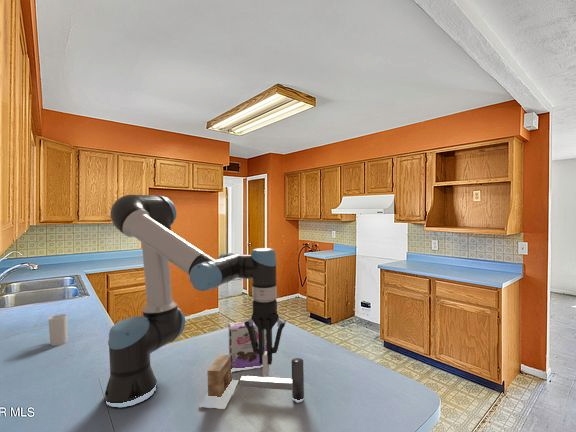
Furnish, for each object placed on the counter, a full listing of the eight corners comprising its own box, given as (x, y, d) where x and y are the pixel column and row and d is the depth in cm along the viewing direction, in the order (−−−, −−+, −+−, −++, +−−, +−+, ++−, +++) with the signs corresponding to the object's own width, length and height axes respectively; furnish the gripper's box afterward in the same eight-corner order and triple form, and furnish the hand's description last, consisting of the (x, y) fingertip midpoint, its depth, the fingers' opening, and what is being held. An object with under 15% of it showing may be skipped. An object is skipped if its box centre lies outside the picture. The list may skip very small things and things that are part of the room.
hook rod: (239, 398, 97) (238, 360, 97) (243, 391, 101) (242, 355, 100) (303, 403, 94) (302, 364, 94) (304, 396, 98) (303, 358, 97)
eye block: (199, 407, 94) (198, 373, 93) (216, 381, 107) (216, 351, 107) (224, 409, 92) (223, 375, 92) (239, 383, 106) (238, 352, 106)
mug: (71, 341, 143) (70, 315, 143) (55, 347, 137) (53, 320, 137) (58, 337, 147) (57, 312, 147) (42, 343, 141) (41, 317, 141)
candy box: (230, 373, 112) (229, 328, 112) (229, 365, 118) (227, 322, 118) (268, 367, 116) (267, 323, 116) (265, 360, 122) (263, 318, 121)
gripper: (240, 301, 94) (242, 379, 95) (283, 303, 92) (284, 382, 93) (247, 294, 101) (249, 366, 102) (287, 295, 99) (288, 368, 100)
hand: (266, 373), depth 97 cm, fingers closed
